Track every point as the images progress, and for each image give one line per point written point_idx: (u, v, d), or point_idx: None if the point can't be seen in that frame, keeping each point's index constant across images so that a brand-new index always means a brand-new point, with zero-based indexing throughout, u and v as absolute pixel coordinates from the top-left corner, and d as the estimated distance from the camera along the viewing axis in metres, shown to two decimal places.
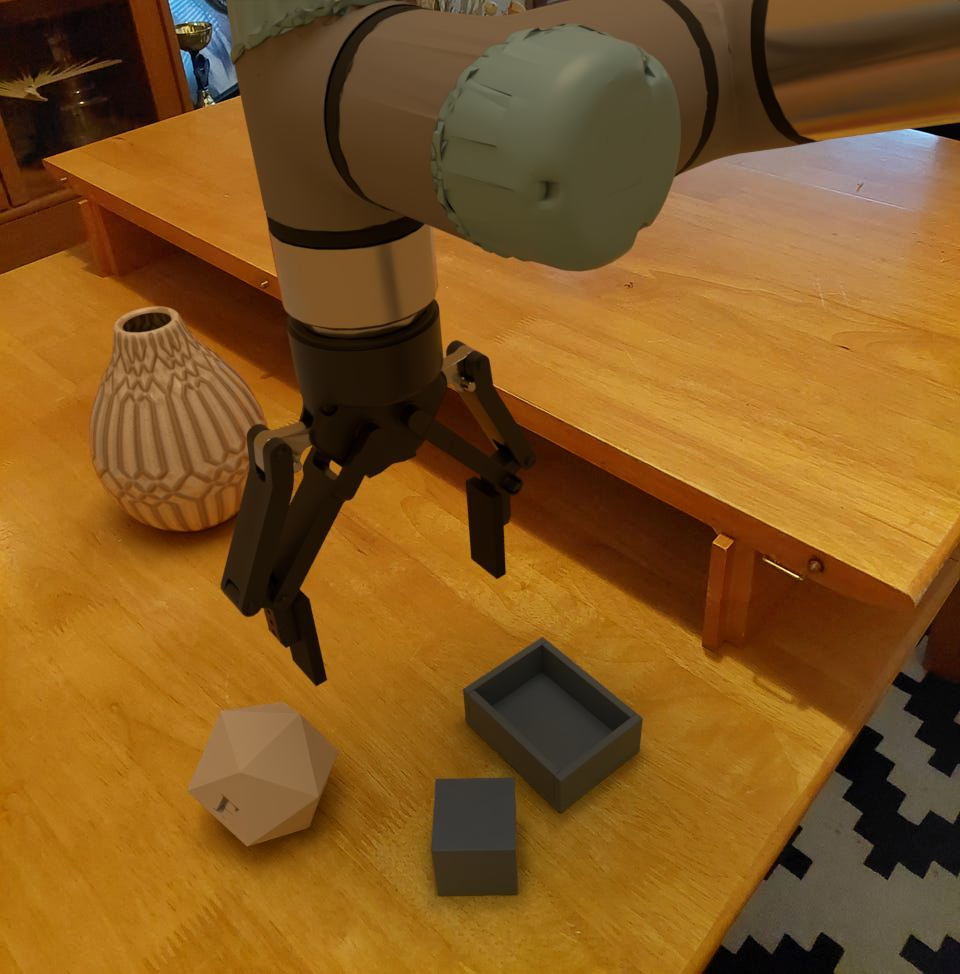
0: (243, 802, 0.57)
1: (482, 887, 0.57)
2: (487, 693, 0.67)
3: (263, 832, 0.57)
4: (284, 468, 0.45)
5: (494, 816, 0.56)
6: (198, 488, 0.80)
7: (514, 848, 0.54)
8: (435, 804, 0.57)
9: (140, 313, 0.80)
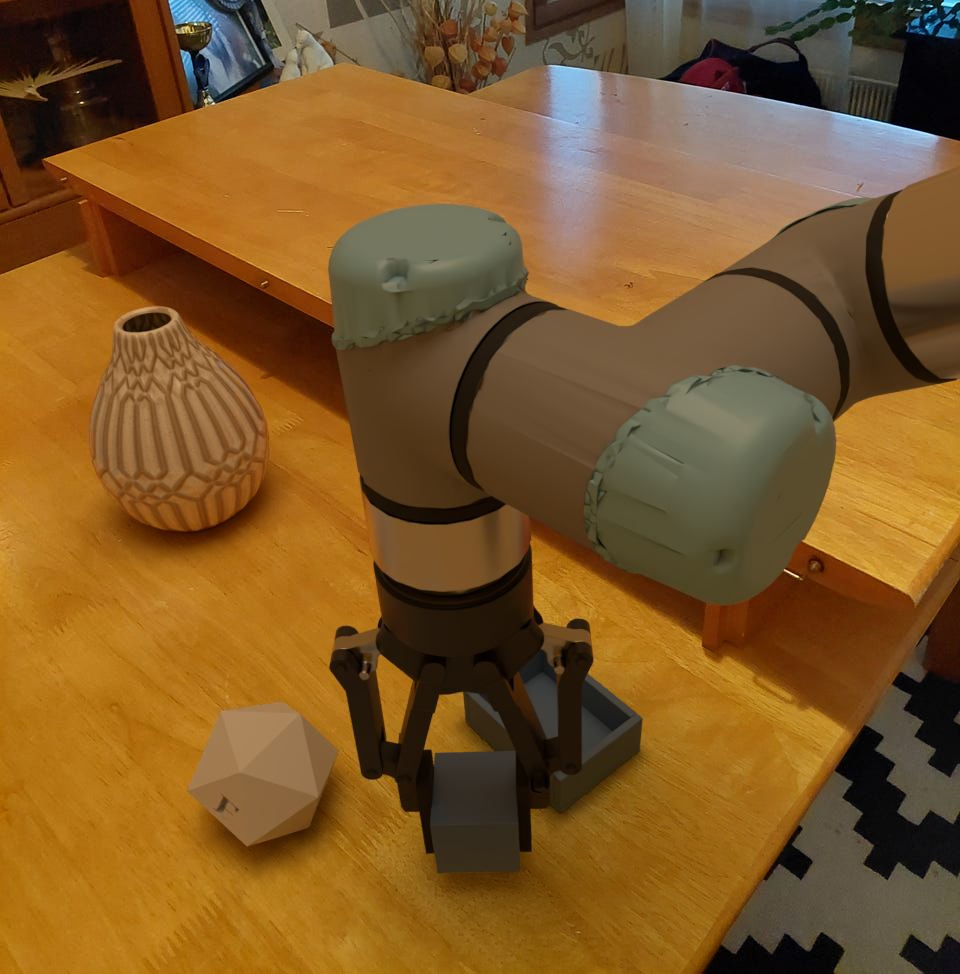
0: (243, 802, 0.57)
1: (483, 863, 0.55)
2: None
3: (263, 832, 0.57)
4: (350, 677, 0.47)
5: (495, 790, 0.54)
6: (198, 488, 0.80)
7: (516, 822, 0.52)
8: (434, 778, 0.55)
9: (140, 313, 0.80)
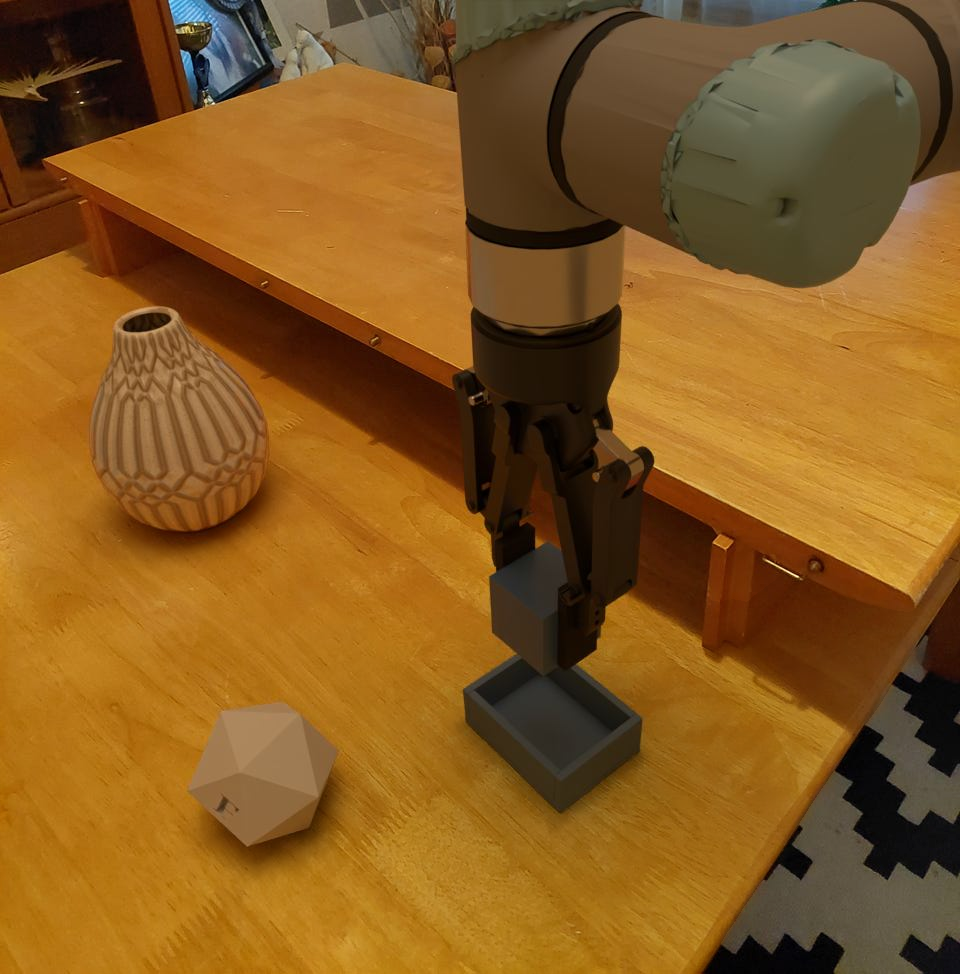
0: (243, 802, 0.57)
1: (520, 646, 0.58)
2: (487, 693, 0.67)
3: (263, 832, 0.57)
4: (463, 396, 0.53)
5: (556, 590, 0.56)
6: (198, 488, 0.80)
7: (543, 617, 0.54)
8: (527, 554, 0.59)
9: (140, 313, 0.80)
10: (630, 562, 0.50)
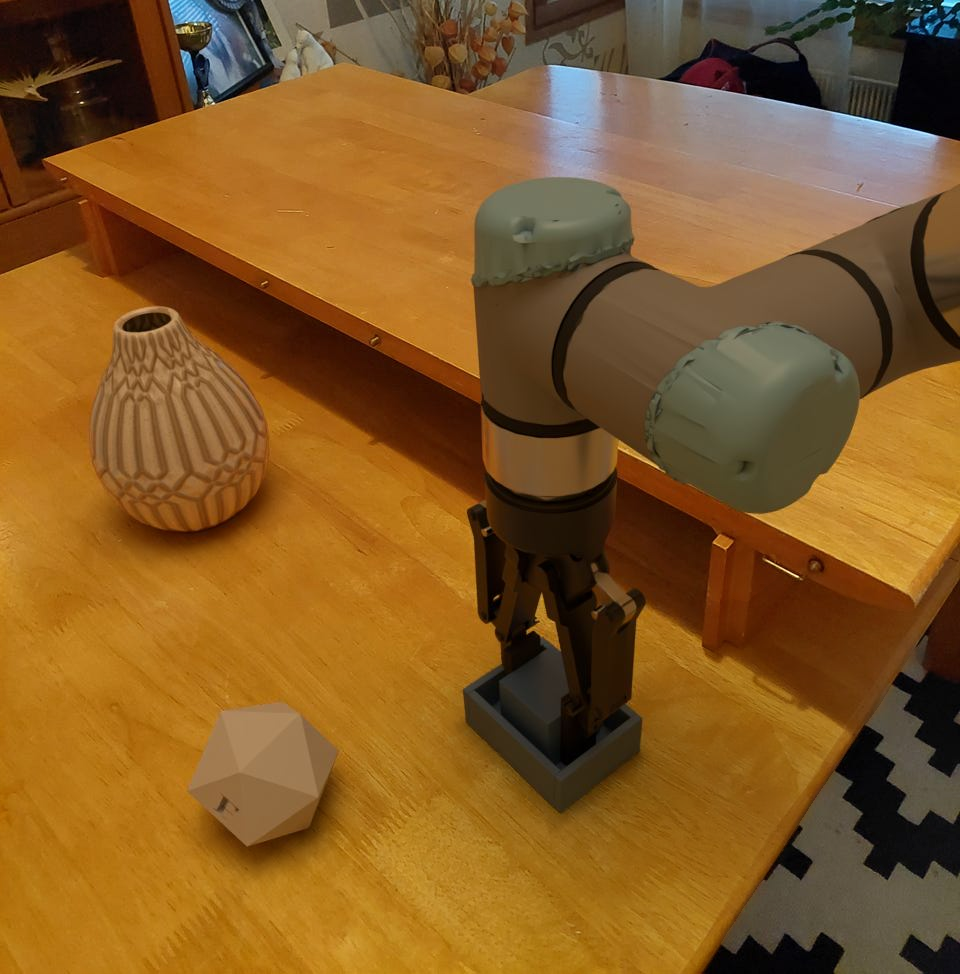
0: (243, 802, 0.57)
1: None
2: (487, 693, 0.67)
3: (263, 832, 0.57)
4: (476, 528, 0.60)
5: (559, 695, 0.62)
6: (198, 488, 0.80)
7: (547, 723, 0.61)
8: (533, 659, 0.65)
9: (140, 313, 0.80)
10: (625, 681, 0.57)
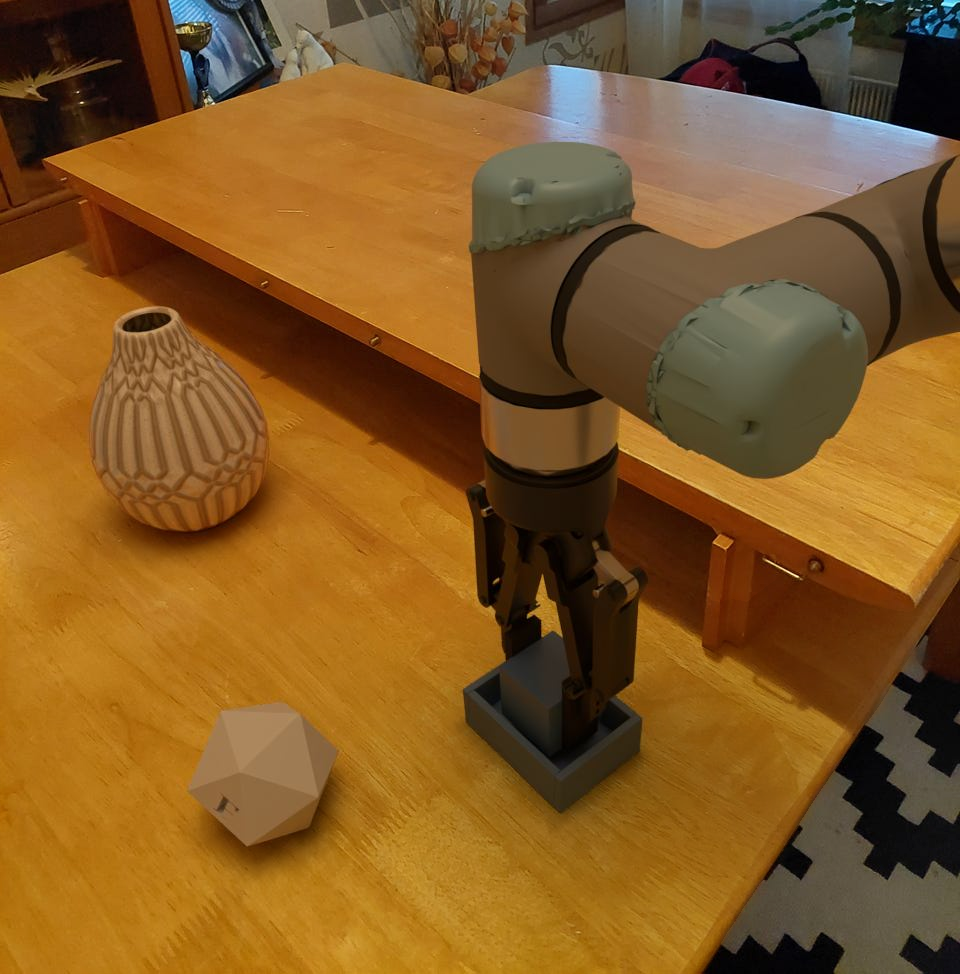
0: (243, 802, 0.57)
1: (527, 729, 0.63)
2: (487, 693, 0.67)
3: (263, 832, 0.57)
4: (475, 508, 0.59)
5: (560, 680, 0.61)
6: (198, 488, 0.80)
7: (549, 707, 0.60)
8: (534, 643, 0.64)
9: (140, 313, 0.80)
10: (627, 663, 0.56)
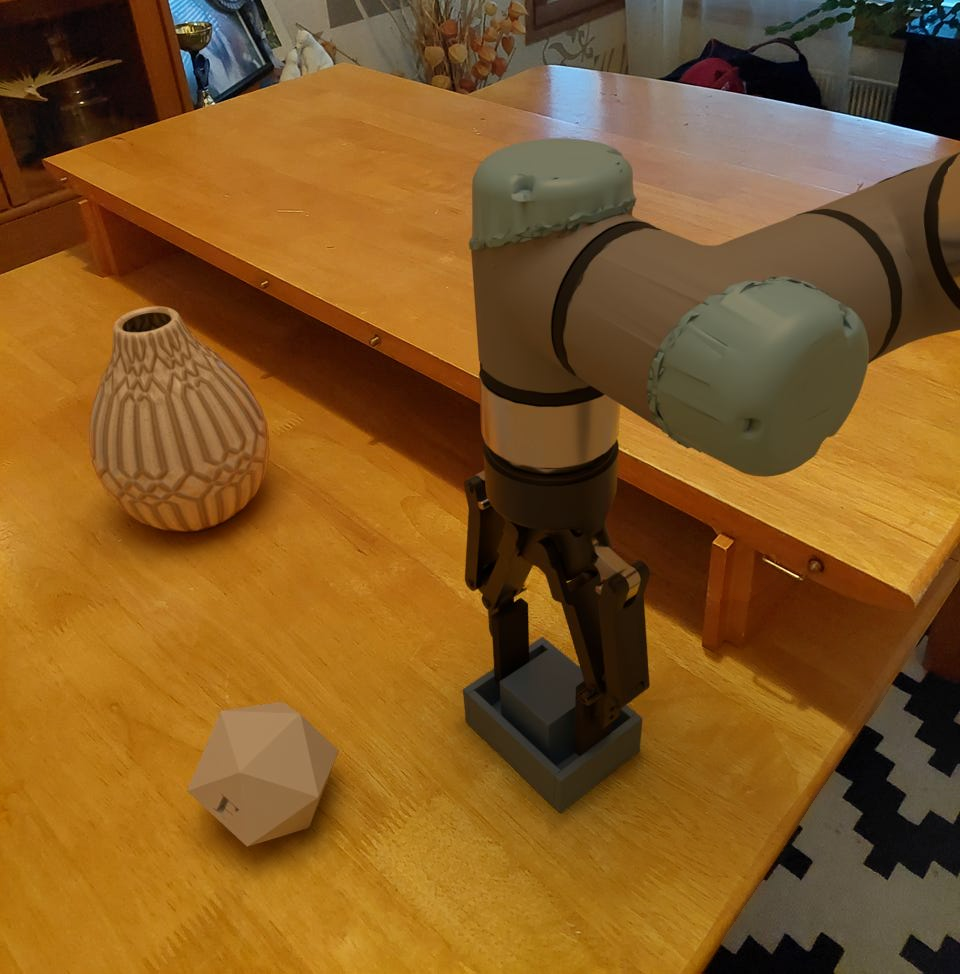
0: (243, 802, 0.57)
1: None
2: (487, 693, 0.67)
3: (263, 832, 0.57)
4: (473, 499, 0.59)
5: (559, 696, 0.62)
6: (198, 488, 0.80)
7: (548, 724, 0.61)
8: (533, 659, 0.65)
9: (140, 313, 0.80)
10: (640, 665, 0.55)
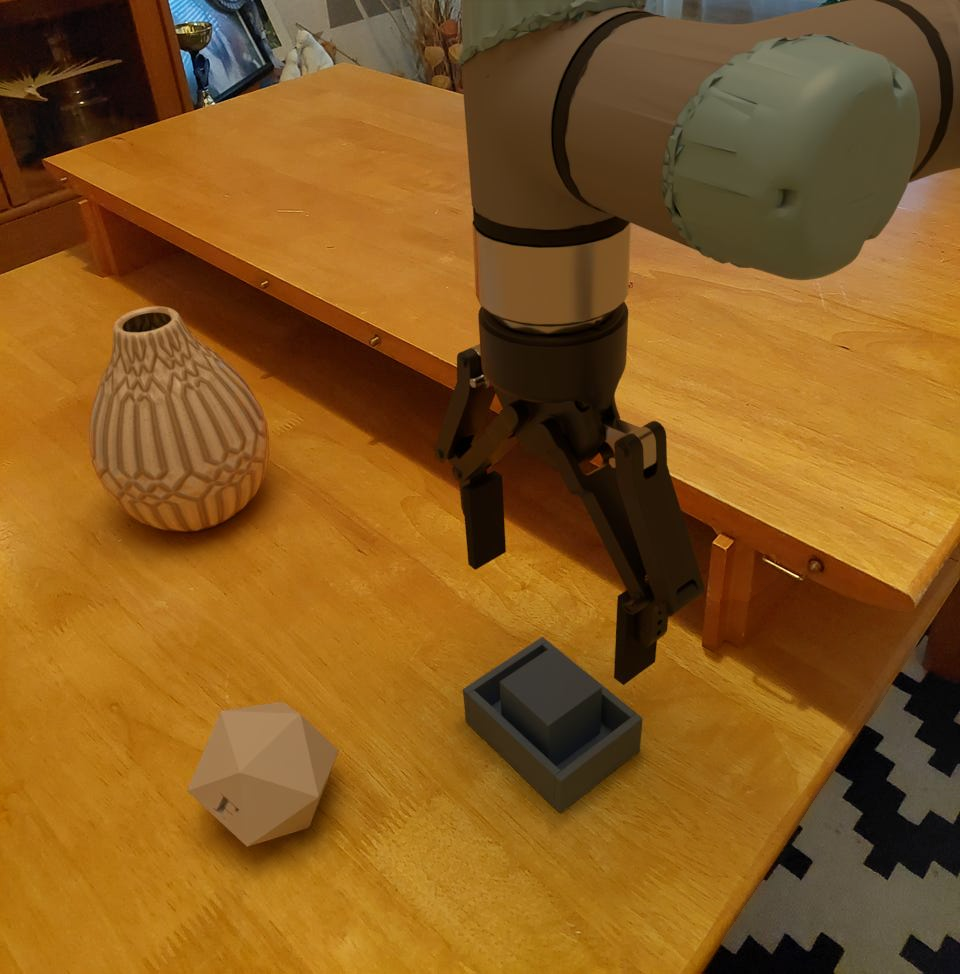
0: (243, 802, 0.57)
1: None
2: (487, 693, 0.67)
3: (263, 832, 0.57)
4: (464, 374, 0.53)
5: (559, 696, 0.62)
6: (198, 488, 0.80)
7: (548, 724, 0.61)
8: (533, 659, 0.65)
9: (140, 313, 0.80)
10: (685, 557, 0.47)
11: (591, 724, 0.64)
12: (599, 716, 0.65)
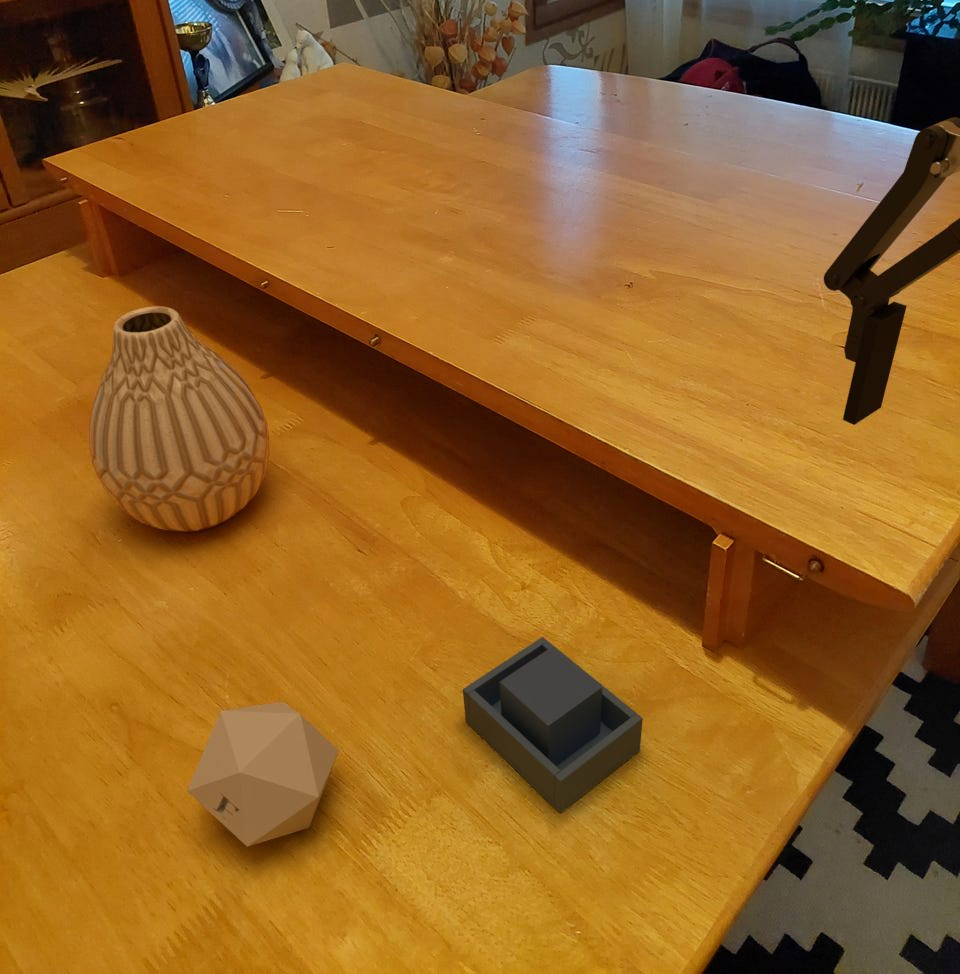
0: (243, 802, 0.57)
1: None
2: (487, 693, 0.67)
3: (263, 832, 0.57)
4: (923, 159, 0.44)
5: (559, 696, 0.62)
6: (198, 488, 0.80)
7: (548, 724, 0.61)
8: (533, 659, 0.65)
9: (140, 313, 0.80)
10: None
11: (591, 724, 0.64)
12: (599, 716, 0.65)
